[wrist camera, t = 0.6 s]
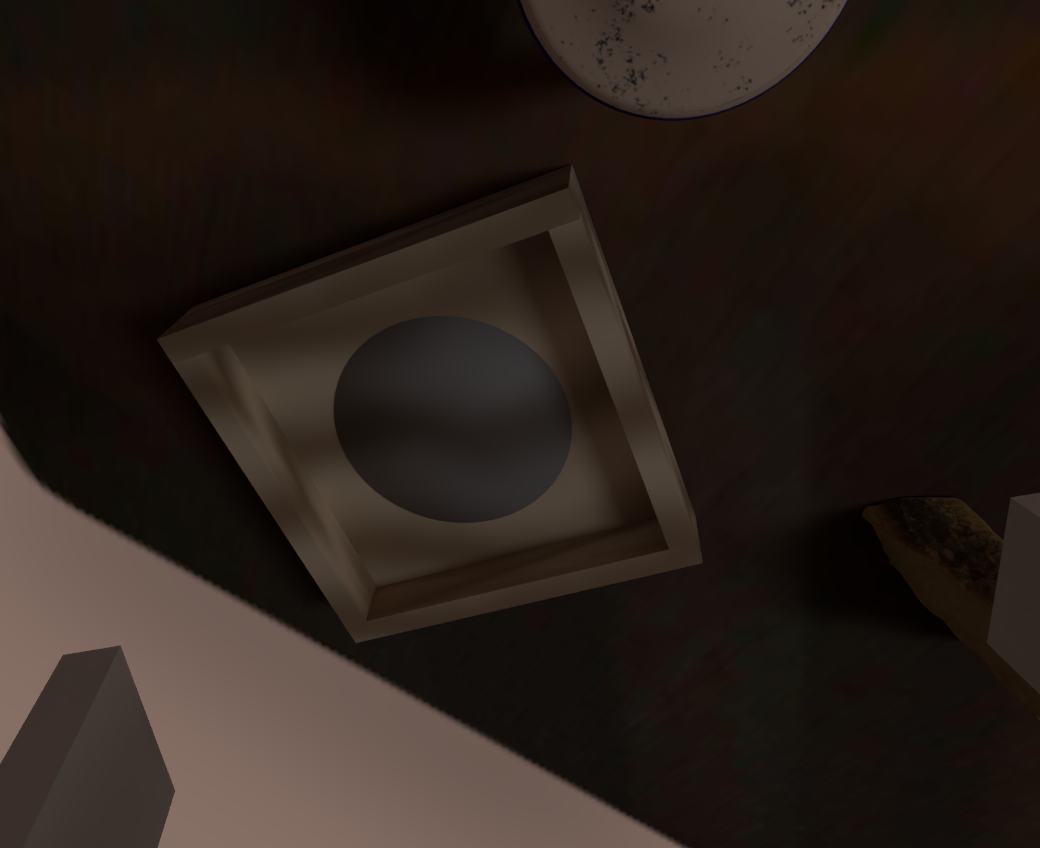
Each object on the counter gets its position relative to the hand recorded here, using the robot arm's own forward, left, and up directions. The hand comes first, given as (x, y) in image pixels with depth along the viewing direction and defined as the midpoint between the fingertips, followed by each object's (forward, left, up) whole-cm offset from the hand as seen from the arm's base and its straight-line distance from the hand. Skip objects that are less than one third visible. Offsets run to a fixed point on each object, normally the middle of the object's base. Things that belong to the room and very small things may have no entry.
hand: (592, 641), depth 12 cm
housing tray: (+7, -10, -24) cm, 27 cm away
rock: (+23, +10, -24) cm, 35 cm away
